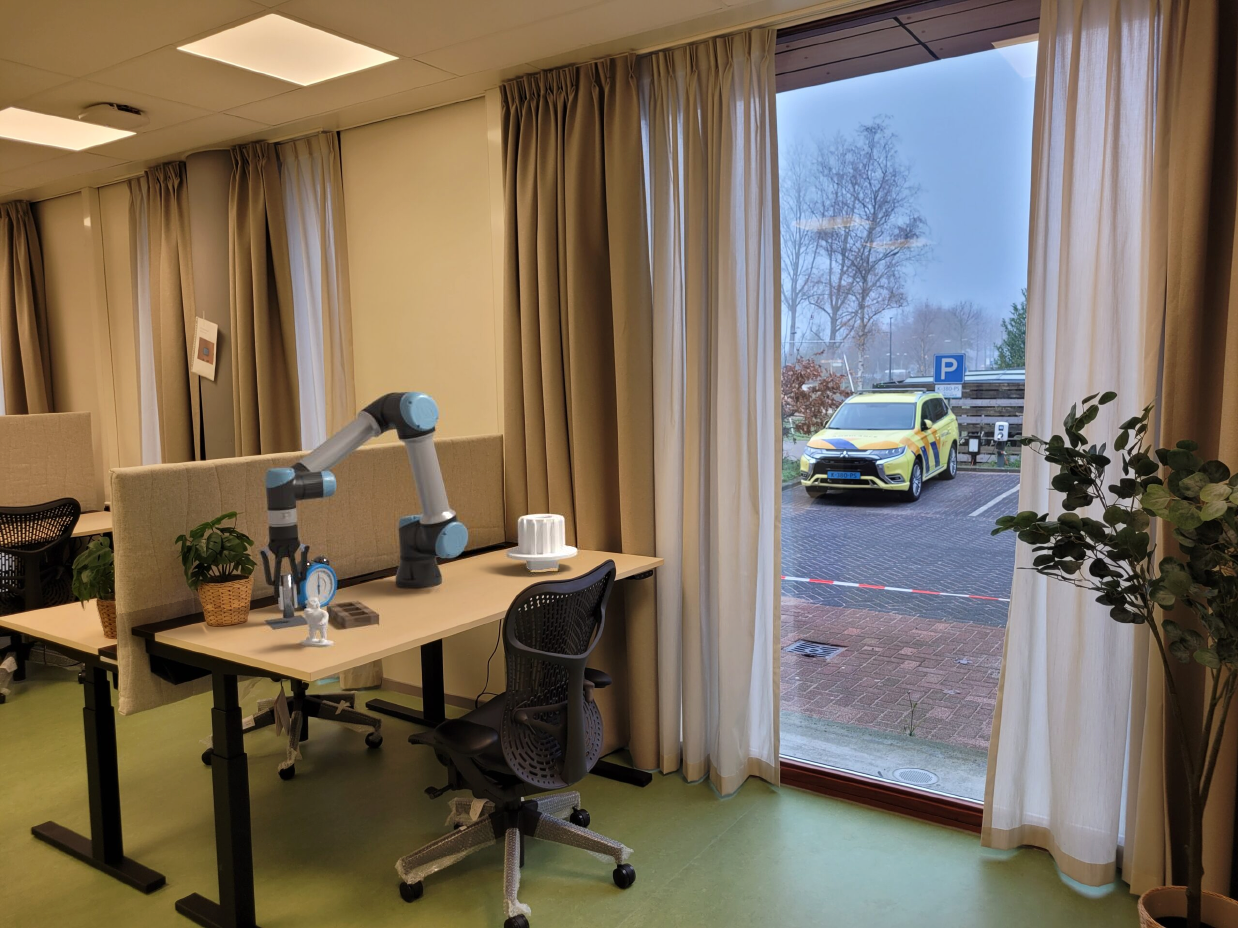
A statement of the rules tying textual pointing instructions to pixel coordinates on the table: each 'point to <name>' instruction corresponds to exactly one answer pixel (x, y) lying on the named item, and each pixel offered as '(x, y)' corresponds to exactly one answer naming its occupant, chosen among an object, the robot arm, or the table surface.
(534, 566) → the flanged gear
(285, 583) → the pin
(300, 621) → the mat
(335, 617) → the hole block
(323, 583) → the alarm clock
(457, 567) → the table surface
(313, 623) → the figurine
